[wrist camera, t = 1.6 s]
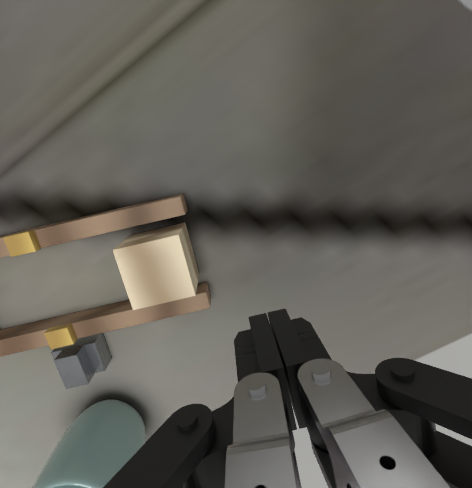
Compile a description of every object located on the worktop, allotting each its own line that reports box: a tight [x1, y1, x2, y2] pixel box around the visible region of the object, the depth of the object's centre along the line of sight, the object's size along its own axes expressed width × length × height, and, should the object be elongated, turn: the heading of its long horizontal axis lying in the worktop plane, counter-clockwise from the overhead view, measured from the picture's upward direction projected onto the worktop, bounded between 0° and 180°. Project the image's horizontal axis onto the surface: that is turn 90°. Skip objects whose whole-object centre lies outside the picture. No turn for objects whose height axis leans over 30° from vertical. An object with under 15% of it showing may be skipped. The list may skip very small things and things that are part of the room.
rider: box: [113, 223, 199, 310], centre depth 26 cm, size 5×5×5 cm
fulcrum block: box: [51, 333, 112, 389], centre depth 29 cm, size 4×3×4 cm
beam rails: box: [0, 193, 211, 356], centre depth 27 cm, size 22×10×3 cm, turn 103°
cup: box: [32, 399, 146, 488], centre depth 28 cm, size 8×8×10 cm
